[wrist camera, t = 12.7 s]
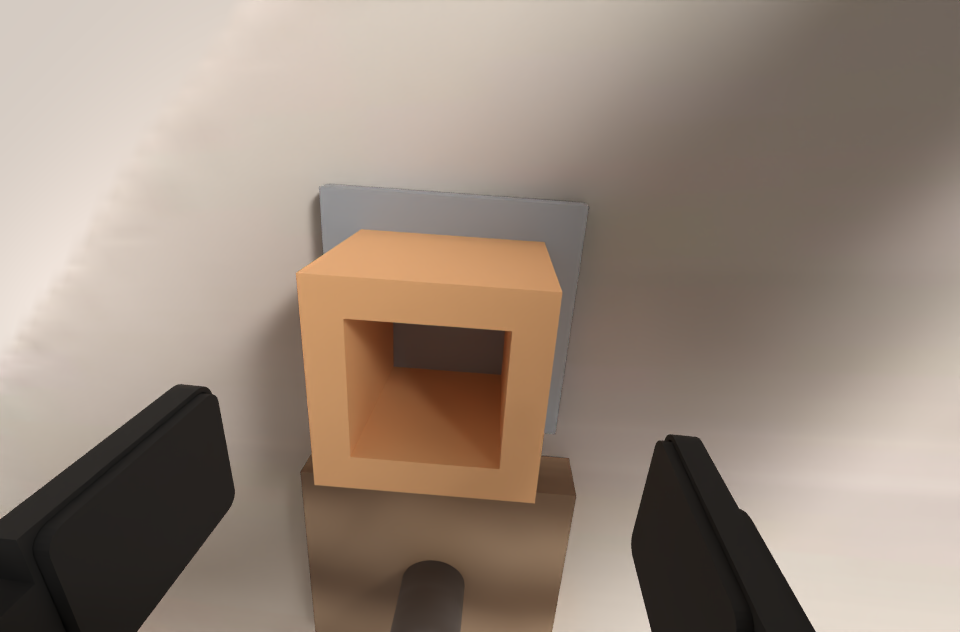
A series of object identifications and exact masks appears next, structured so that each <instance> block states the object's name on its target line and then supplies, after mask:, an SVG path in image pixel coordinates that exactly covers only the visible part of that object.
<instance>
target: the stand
mask: <svg viewBox="0 0 960 632" xmlns="http://www.w3.org/2000/svg"><path fill="white" fill-rule="evenodd" d="M301 482H302V493H303V503H304V514H305V525H306V535H307V546H308V557H309V567H310V578H311V589H312V599H313V610H314V621H315V631H316V632H552V629H553V623H554V617H555V612H556V606H557V601H558V595H559V589H560V584H561V578H562V573H563V567H564V561H565V556H566V550H567V545H568V539H569V533H570V528H571V522H572V516H573V511H574V505H575V500H576V493H575V488H574V482H573V477H572V472H571V467H570V462H569V458H558V457H546V456H541V460H540V467H539V475H538V483H537V490H536V498H535V503H524V502H512V501H500V500H489V499H477V498H465V497H453V496H441V495H429V494H417V493H405V492H393V491H381V490H369V489H357V488H345V487H333V486H321V485H314V473H313V462H312V454H311V455H310V457H309V459H308V460H307V462H306V464H305V465H304V467H303V469H302V470H301Z"/></svg>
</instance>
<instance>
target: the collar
mask: <svg viewBox="0 0 960 632" xmlns="http://www.w3.org/2000/svg"><path fill="white" fill-rule="evenodd" d="M296 280H297V291H298V302H299V314H300V325H301V337H302V348H303V359H304V371H305V382H306V393H307V405H308V416H309V428H310V439H311V450H312V462H313V473H314V485H321V486H333V487H345V488H357V489H369V490H381V491H393V492H405V493H417V494H429V495H441V496H453V497H465V498H477V499H489V500H500V501H512V502H524V503H535V498H536V490H537V483H538V475H539V467H540V460H541V452H542V445H543V437H544V429H545V422H546V414H547V407H548V399H549V391H550V384H551V376H552V368H553V361H554V353H555V346H556V338H557V330H558V323H559V315H560V307H561V300H562V290H561V287H560V284H559V281H558V278H557V276H556V273H555V270H554V267H553V265H552V262H551V259H550V256H549V253H548V251H547V248H546V245H545V242H537V241H522V240H508V239H494V238H479V237H465V236H451V235H437V234H422V233H408V232H394V231H379V230H365V229H361V230H359V231H358V232H356V233H355V234H353V235H352V236H350V237H349V238H347V239H346V240H344V241H343V242H341V243H340V244H338V245H337V246H335V247H334V248H332V249H331V250H329V251H328V252H326V253H325V254H323V255H322V256H321V257H319V258H318V259H316V260H315V261H313V262H312V263H310V264H309V265H307V266H306V267H304V268H303V269H301V270H300V271H298V272H297V273H296ZM393 322H395V323H408V324H422V325H435V326H448V327H462V328H475V329H489V330H502V331H505V335H504V347H503V359H502V370H501V375H497V374H484V373H471V372H458V371H445V370H432V369H419V368H406V367H394V361H393Z"/></svg>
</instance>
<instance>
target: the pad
mask: <svg viewBox="0 0 960 632" xmlns="http://www.w3.org/2000/svg"><path fill="white" fill-rule="evenodd" d="M319 192H320V209H321V226H322V243H323V254H325V253H326V252H328V251H329V250H331V249H332V248H334V247H335V246H337V245H338V244H340V243H341V242H343V241H344V240H346V239H347V238H349V237H350V236H352V235H353V234H355V233H356V232H358V231H359V230H361V229H365V230H379V231H394V232H408V233H422V234H437V235H451V236H465V237H479V238H494V239H508V240H522V241H537V242H545V245H546V248H547V251H548V253H549V256H550V259H551V262H552V265H553V267H554V270H555V273H556V276H557V278H558V281H559V284H560V287H561V290H562V300H561V307H560V315H559V323H558V330H557V338H556V346H555V353H554V361H553V368H552V376H551V384H550V391H549V399H548V407H547V414H546V422H545V429H544V433H545V434H555V432H556V426H557V419H558V412H559V405H560V399H561V392H562V385H563V378H564V372H565V365H566V358H567V351H568V345H569V338H570V331H571V324H572V318H573V311H574V304H575V297H576V291H577V284H578V277H579V270H580V264H581V257H582V250H583V243H584V237H585V230H586V223H587V217H588V210H589V206H588V205H587V204H586V203H583V202H569V201H556V200H542V199H528V198H515V197H501V196H487V195H474V194H460V193H446V192H433V191H419V190H405V189H392V188H378V187H365V186H351V185H337V184H326V185H323V186H320V187H319ZM504 335H505V331H502V330H489V329H475V328H462V327H448V326H435V325H422V324H408V323H395V322H393V361H394V367H406V368H419V369H432V370H445V371H458V372H471V373H484V374H497V375H501V370H502V359H503V347H504Z"/></svg>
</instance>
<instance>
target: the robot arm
mask: <svg viewBox="0 0 960 632" xmlns="http://www.w3.org/2000/svg"><path fill="white" fill-rule="evenodd" d="M234 495H235V489H234V484H233V478H232V473H231V467H230V462H229V456H228V451H227V446H226V440H225V435H224V429H223V424H222V418H221V413H220V407H219V402H218V399H217V397H216V396H215V395H213V394H212V393H211V391H210V390H209V388H207V387H202V386H192V385H182V384H180V385H176V386H174V387H172V388H171V389H170V390H168V391H167V392H166V393H164V394H163V395H162V396H161V397H159V398H158V399H157V400H155V401H154V402H153V403H151V404H150V405H149V406H148V407H146V408H145V409H144V410H142V411H141V412H140V413H138V414H137V415H136V416H134V417H133V418H132V419H131V420H129V421H128V422H127V423H125V424H124V425H123V426H121V427H120V428H119V429H118V430H116V431H115V432H114V433H112V434H111V435H110V436H108V437H107V438H106V439H104V440H103V441H102V442H101V443H99V444H98V445H97V446H95V447H94V448H93V449H91V450H90V451H89V452H88V453H86V454H85V455H84V456H82V457H81V458H80V459H78V460H77V461H76V462H74V463H73V464H72V465H71V466H69V467H68V468H67V469H65V470H64V471H63V472H61V473H60V474H59V475H58V476H56V477H55V478H54V479H52V480H51V481H50V482H48V483H47V484H46V485H44V486H43V487H42V488H41V489H39V490H38V491H37V492H35V493H34V494H33V495H31V496H30V497H29V498H28V499H26V500H25V501H24V502H22V503H21V504H20V505H18V506H17V507H16V508H14V509H13V510H12V511H11V512H9V513H8V514H7V515H5V516H4V517H3V518H1V519H0V632H137V631H138V630H139V628H140V627H141V626H142V624H143V623H144V622H145V620H146V619H147V618H148V616H149V615H150V614H151V612H152V611H153V610H154V608H155V607H156V606H157V604H158V603H159V602H160V600H161V599H162V598H163V596H164V595H165V594H166V592H167V591H168V590H169V588H170V587H171V586H172V584H173V583H174V582H175V580H176V579H177V578H178V576H179V575H180V574H181V572H182V571H183V570H184V568H185V567H186V566H187V564H188V563H189V562H190V560H191V559H192V558H193V556H194V555H195V554H196V552H197V551H198V550H199V548H200V547H201V546H202V544H203V543H204V542H205V540H206V539H207V538H208V536H209V535H210V534H211V532H212V531H213V530H214V528H215V527H216V526H217V524H218V523H219V522H220V521H221V519H222V518H223V517H224V515H225V514H226V513H227V511H228V510H229V508H230V507H231V505H232V503H233V500H234ZM631 549H632V556H633V560H634V564H635V568H636V572H637V576H638V580H639V584H640V588H641V591H642V595H643V599H644V603H645V607H646V611H647V615H648V619H649V623H650V627H651V631H652V632H815V630H814V628H813V626H812V625H811V623H810V621H809V619H808V618H807V616H806V614H805V612H804V611H803V609H802V607H801V605H800V604H799V602H798V600H797V598H796V597H795V595H794V593H793V591H792V590H791V588H790V586H789V584H788V583H787V581H786V579H785V577H784V576H783V574H782V572H781V570H780V569H779V567H778V565H777V563H776V562H775V560H774V558H773V556H772V555H771V553H770V551H769V549H768V548H767V546H766V544H765V542H764V541H763V539H762V537H761V535H760V534H759V532H758V530H757V528H756V527H755V525H754V523H753V521H752V520H751V518H750V517H749V516H748V514H747V513H746V512H744V511H743V510H741V509H739V508H738V506H737V504H736V502H735V501H734V499H733V497H732V495H731V493H730V492H729V490H728V488H727V486H726V484H725V483H724V481H723V479H722V477H721V475H720V474H719V472H718V470H717V468H716V466H715V465H714V463H713V461H712V459H711V457H710V456H709V454H708V452H707V450H706V448H705V447H704V445H703V443H702V441H701V440H700V439H699V438H697V437H691V436H681V435H671V434H670V435H667V437H666V438H665V441H658V442H657V443H656V445H655V449H654V453H653V457H652V460H651V464H650V468H649V472H648V476H647V480H646V484H645V487H644V491H643V495H642V499H641V503H640V507H639V511H638V514H637V518H636V522H635V526H634V530H633V534H632V540H631Z"/></svg>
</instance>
